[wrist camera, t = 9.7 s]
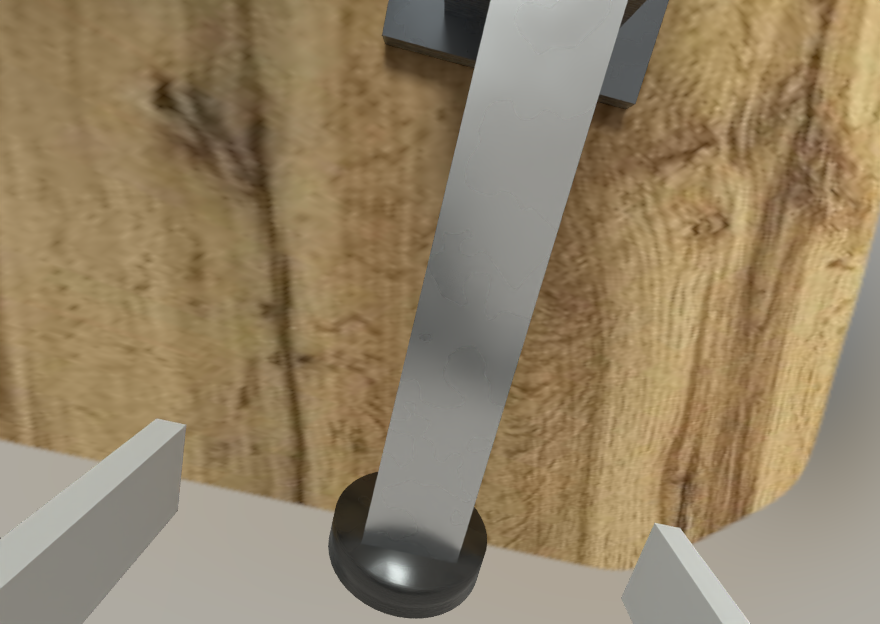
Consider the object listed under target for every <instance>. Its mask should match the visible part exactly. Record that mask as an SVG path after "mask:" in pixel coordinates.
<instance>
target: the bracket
mask: <svg viewBox="0 0 880 624" xmlns="http://www.w3.org/2000/svg"><path fill="white" fill-rule="evenodd" d="M490 1H491V0H389V2H388V7H387V13H386V18H385V23H384V28H383V34H382V36H383V39H384V42H385V44H387V45H391V46H395V47H398V48H402V49H406V50H409V51H413V52H417V53H420V54H424V55H428V56H431V57H435V58H439V59H442V60H446V61H450V62H454V63H457V64H461V65H465V66H468V67H472V68H475V64H476V60H477V56H478V51H479V47H480V43H481V39H482V35H483V30H484V26H485V22H486V18H487V14H488V9H489V5H490ZM668 1H669V0H628V1H627V5H626V8H625V11H624V15H623V18H622V21H621V24H620V28H619V31H618V34H617V38H616V41H615V44H614V47H613V51H612V54H611V57H610V61H609V64H608V67H607V70H606V74H605V77H604V80H603V84H602V87H601V90H600V93H599V97H598V100H597V102H601V103H605V104H608V105H612V106H616V107H619V108H623V109H627V108H629V107H631V106H633V105H634V104H635V103H636V100H637V97H638V94H639V91H640V88H641V85H642V82H643V79H644V75H645V72H646V69H647V66H648V63H649V60H650V57H651V54H652V51H653V48H654V45H655V41H656V38H657V35H658V32H659V29H660V26H661V23H662V20H663V17H664V14H665V11H666V7H667V4H668Z"/></svg>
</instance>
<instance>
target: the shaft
mask: <svg viewBox="0 0 880 624" xmlns="http://www.w3.org/2000/svg"><path fill="white" fill-rule="evenodd" d="M627 1H628V0H491V1H490V5H489V9H488V14H487V18H486V22H485V26H484V30H483V35H482V39H481V43H480V47H479V51H478V56H477V60H476V64H475V68H474V72H473V77H472V81H471V85H470V89H469V93H468V98H467V102H466V106H465V110H464V114H463V119H462V123H461V127H460V131H459V135H458V140H457V144H456V148H455V152H454V156H453V161H452V165H451V169H450V173H449V177H448V182H447V186H446V190H445V194H444V198H443V203H442V207H441V211H440V215H439V219H438V224H437V228H436V232H435V236H434V240H433V245H432V249H431V253H430V257H429V261H428V266H427V270H426V274H425V278H424V282H423V287H422V291H421V295H420V299H419V303H418V308H417V312H416V316H415V320H414V324H413V329H412V333H411V337H410V341H409V345H408V350H407V354H406V358H405V362H404V366H403V371H402V375H401V379H400V383H399V387H398V392H397V396H396V400H395V404H394V408H393V413H392V417H391V421H390V425H389V429H388V434H387V438H386V442H385V446H384V450H383V455H382V459H381V463H380V467H379V471H378V472H375V473H371V474H368V475H366V476H363V477H361V478H359V479H357V480H356V481H354V482H353V483H352V484H350V485H349V486H348V487H347V488H346V489H345V490H344V491H343V493H342V494H341V496H340V497H339V500H338V502H337V505H336V508H335V513H334V517H333V522H332V527H331V531H330V536H329V545H328V547H329V556H330V560H331V564H332V566H333V568H334V571H335V573H336V574H337V576H338V578H339V579H340V581H341V582H342V584H343V585H344V586H345V587H346V588H347V590H349V591H350V592H351V593H352V594H353V595H354V596H355V597H356V598H358V599H359V600H360V601H362V602H363V603H364V604H366V605H368V606H370V607H372V608H374V609H376V610H378V611H381V612H383V613H386V614H390V615H393V616H397V617H404V618H428V617H434V616H437V615H440V614H444V613H446V612H448V611H450V610H452V609H454V608H455V607H457V606H458V605H460V604H461V603H462V602H463V601H464V600H465V599H466V598H467V597H468V595H469V594H470V593H471V591H472V589H473V587H474V586H475V583H476V580H477V577H478V574H479V570H480V567H481V564H482V561H483V558H484V555H485V552H486V547H487V534H486V529H485V526H484V523H483V521H482V519H481V517H480V515H479V513H478V512H477V510H476V509H475V507H474V505H475V501H476V498H477V495H478V491H479V488H480V485H481V482H482V478H483V475H484V472H485V468H486V465H487V462H488V459H489V455H490V452H491V449H492V445H493V442H494V439H495V436H496V432H497V429H498V426H499V422H500V419H501V416H502V413H503V409H504V406H505V403H506V399H507V396H508V393H509V389H510V386H511V383H512V380H513V376H514V373H515V370H516V366H517V363H518V360H519V357H520V353H521V350H522V347H523V343H524V340H525V337H526V334H527V330H528V327H529V324H530V320H531V317H532V314H533V311H534V307H535V304H536V301H537V297H538V294H539V291H540V288H541V284H542V281H543V278H544V274H545V271H546V268H547V265H548V261H549V258H550V255H551V251H552V248H553V245H554V241H555V238H556V235H557V232H558V228H559V225H560V222H561V218H562V215H563V212H564V209H565V205H566V202H567V199H568V195H569V192H570V189H571V186H572V182H573V179H574V176H575V172H576V169H577V166H578V163H579V159H580V156H581V153H582V149H583V146H584V143H585V140H586V136H587V133H588V130H589V126H590V123H591V120H592V117H593V113H594V110H595V107H596V103H597V100H598V97H599V93H600V90H601V87H602V84H603V80H604V77H605V74H606V70H607V67H608V64H609V61H610V57H611V54H612V51H613V47H614V44H615V41H616V38H617V34H618V31H619V28H620V24H621V21H622V18H623V15H624V11H625V8H626V5H627Z"/></svg>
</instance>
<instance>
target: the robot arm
mask: <svg viewBox="0 0 880 624" xmlns="http://www.w3.org/2000/svg"><path fill="white" fill-rule="evenodd" d="M185 432H186V425H185V424H180V423H176V422H171V421H166V420H161V419H155V420H154V421H153V422H152V423H150V424H149V425H148V426H146V427H145V428H144V429H142V430H141V431H140V432H138V433H137V434H136V435H135V436H133V437H132V438H131V439H129V440H128V441H127V442H125V443H124V444H123V445H122V446H120V447H119V448H118V449H116V450H115V451H114V452H112V453H111V454H110V455H109V456H107V457H106V458H105V459H103V460H102V461H101V462H99V463H98V464H97V465H96V466H94V467H93V468H92V469H90V470H89V471H88V472H86V473H85V474H84V475H83V476H81V477H80V478H79V479H78V480H76V481H75V482H74V483H72V484H71V485H70V486H68V487H67V488H66V489H64V490H63V491H62V492H60V493H59V494H58V495H56V496H55V497H54V498H53V499H51V500H50V501H49V502H47V503H46V504H45V505H44V506H42V507H41V508H40V509H39V510H37V511H36V512H35V513H33V514H32V515H30V516H29V517H28V518H27V519H25V520H24V521H23V522H21V523H20V524H19V525H17V526H16V527H15V528H13V529H12V530H11V531H10V532H8V533H7V534H6V535H5V536H3V537H2V538H0V624H82V623H83V622H84V621H85V620H86V619H87V618H88V616H89V615H90V614H91V613H92V612H93V610H94V609H95V608H96V607H97V606H98V604H99V603H100V602H101V601H102V600H103V599H104V597H105V596H106V595H107V594H108V593H109V591H110V590H111V589H112V588H113V587H114V586H115V584H116V583H117V582H118V581H119V580H120V578H121V577H122V576H123V575H124V574H125V572H126V571H127V570H128V569H129V568H130V566H131V565H132V564H133V563H134V562H135V561H136V560H137V558H138V557H139V556H140V555H141V553H142V552H143V551H144V550H145V549H146V548H147V547H148V545H149V544H150V543H151V542H152V540H153V539H154V538H155V537H156V536H157V535H158V533H159V532H160V531H161V530H162V529H163V528H164V526H165V525H166V524H167V523H168V522H169V520H170V519H171V518H172V517H173V516H174V515H175V513H176V512H177V511H178V502H179V492H180V482H181V472H182V462H183V452H184V442H185ZM621 599H622V601H623V603H624V605H625V607H626V610H627V612H628V614H629V616H630V618H631V620H632V622H633V624H751V623H750V622H749V621H748V620H747V618H746V617H745V615H744V614H743V613H742V611H741V610H740V609H739V607H738V606H737V605H736V603H735V602H734V601H733V599H732V598H731V596H730V595H729V594H728V593H727V591H726V590H725V588H724V587H723V586H722V584H721V583H720V582H719V581H718V579H717V578H716V576H715V575H714V574H713V572H712V571H711V569H710V568H709V567H708V565H707V564H706V563H705V562H704V560H703V559H702V557H701V556H700V555H699V553H698V552H697V551H696V549H695V548H694V546H693V545H692V544H691V542H690V541H689V540H688V538H687V537H686V536H685V534H684V533H683V532H682V530H681V529H680V528H676V527H672V526H667V525H662V524H657V523H655V524H654V526H653V528H652V530H651V532H650V535H649V537H648V539H647V541H646V544H645V546H644V548H643V550H642V553H641V555H640V557H639V559H638V562H637V564H636V566H635V568H634V570H633V573H632V575H631V577H630V579H629V582H628V584H627V586H626V588H625V591H624V593H623V595H622V597H621Z"/></svg>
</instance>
